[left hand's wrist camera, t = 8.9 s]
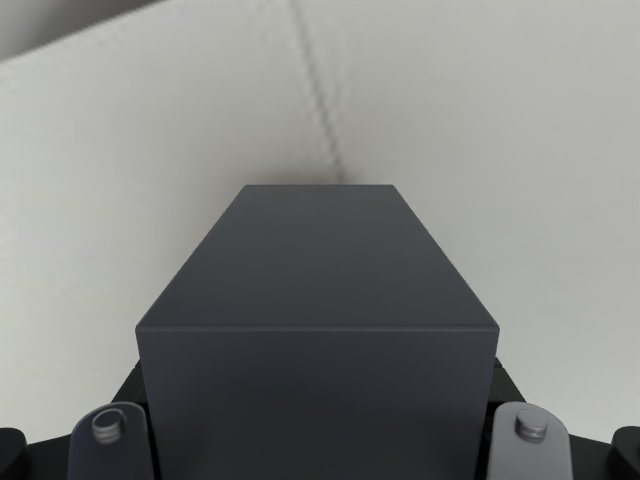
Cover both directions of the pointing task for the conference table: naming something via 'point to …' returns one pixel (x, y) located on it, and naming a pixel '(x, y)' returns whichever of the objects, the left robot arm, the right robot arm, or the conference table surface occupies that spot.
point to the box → (317, 345)
